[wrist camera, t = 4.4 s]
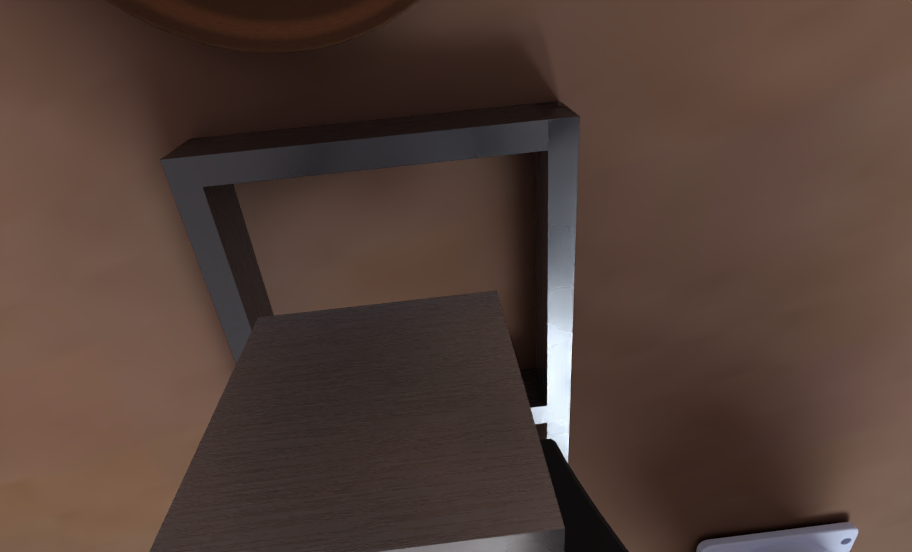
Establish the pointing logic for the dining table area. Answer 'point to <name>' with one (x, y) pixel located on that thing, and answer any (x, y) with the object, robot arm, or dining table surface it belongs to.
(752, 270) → the dining table surface
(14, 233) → the dining table surface
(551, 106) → the grey flat rectangular frame
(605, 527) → the robot arm
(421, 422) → the grey square block
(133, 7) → the cup and saucer
